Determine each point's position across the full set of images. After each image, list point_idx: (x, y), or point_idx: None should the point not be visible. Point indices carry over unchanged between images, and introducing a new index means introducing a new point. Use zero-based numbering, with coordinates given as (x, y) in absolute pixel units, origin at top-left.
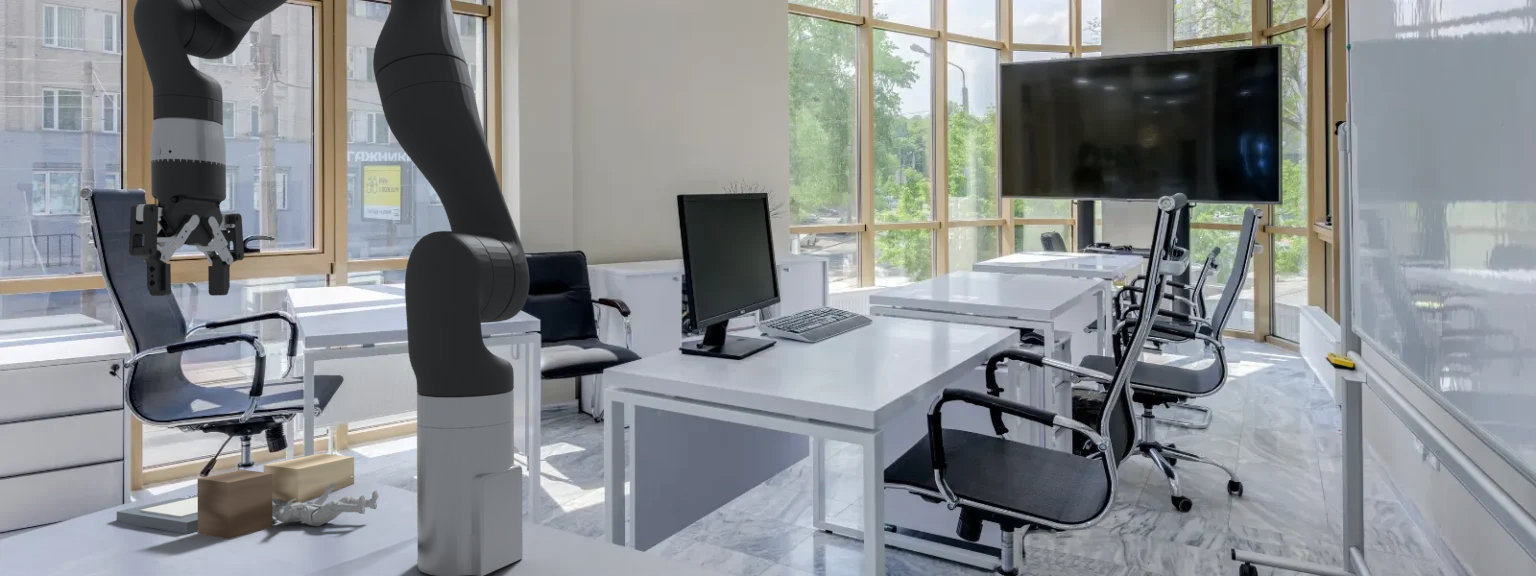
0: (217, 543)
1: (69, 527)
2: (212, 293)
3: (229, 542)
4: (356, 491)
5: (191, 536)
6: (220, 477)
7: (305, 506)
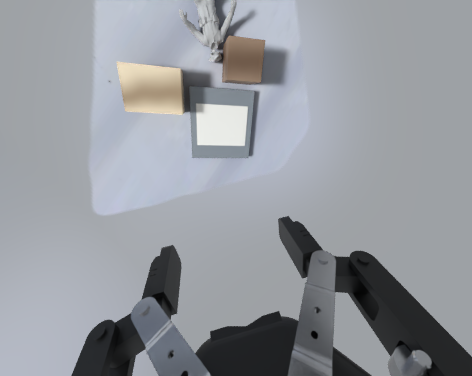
0: None
1: (260, 168)
2: (178, 261)
3: None
4: None
5: None
6: (253, 67)
7: (213, 15)
